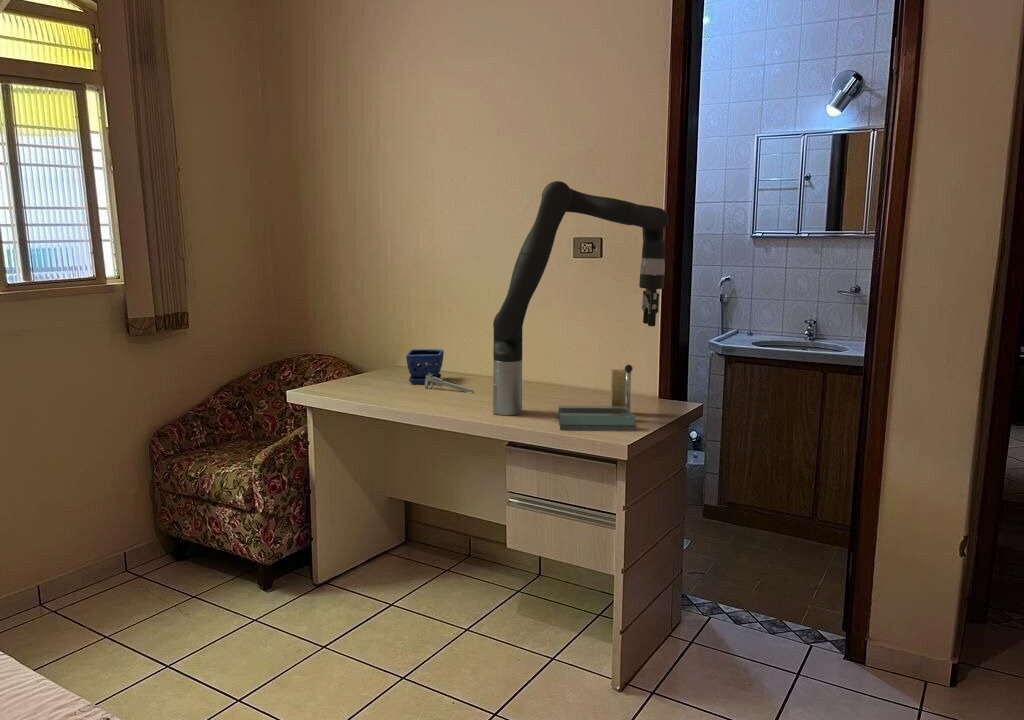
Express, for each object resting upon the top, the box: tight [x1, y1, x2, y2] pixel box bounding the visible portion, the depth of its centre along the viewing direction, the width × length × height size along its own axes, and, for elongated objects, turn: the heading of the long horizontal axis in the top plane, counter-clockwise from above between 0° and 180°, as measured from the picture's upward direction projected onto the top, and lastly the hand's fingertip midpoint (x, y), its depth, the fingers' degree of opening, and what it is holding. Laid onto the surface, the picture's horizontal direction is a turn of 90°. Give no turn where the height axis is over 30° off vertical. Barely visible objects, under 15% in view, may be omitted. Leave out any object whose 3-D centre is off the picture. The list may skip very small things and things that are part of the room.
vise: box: [557, 413, 636, 431], centre depth 239 cm, size 16×22×4 cm
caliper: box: [424, 373, 476, 394], centre depth 288 cm, size 20×1×6 cm, turn 67°
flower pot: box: [405, 348, 445, 385], centre depth 303 cm, size 13×13×12 cm
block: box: [610, 369, 626, 406], centre depth 252 cm, size 4×6×14 cm
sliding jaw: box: [557, 364, 633, 417], centre depth 243 cm, size 4×22×16 cm, turn 89°
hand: (649, 324), depth 248 cm, fingers open, 8 cm apart
